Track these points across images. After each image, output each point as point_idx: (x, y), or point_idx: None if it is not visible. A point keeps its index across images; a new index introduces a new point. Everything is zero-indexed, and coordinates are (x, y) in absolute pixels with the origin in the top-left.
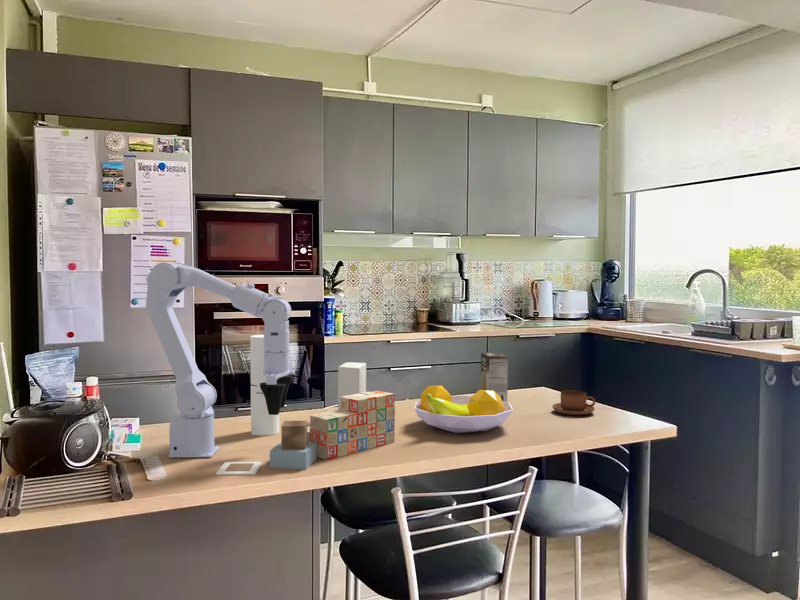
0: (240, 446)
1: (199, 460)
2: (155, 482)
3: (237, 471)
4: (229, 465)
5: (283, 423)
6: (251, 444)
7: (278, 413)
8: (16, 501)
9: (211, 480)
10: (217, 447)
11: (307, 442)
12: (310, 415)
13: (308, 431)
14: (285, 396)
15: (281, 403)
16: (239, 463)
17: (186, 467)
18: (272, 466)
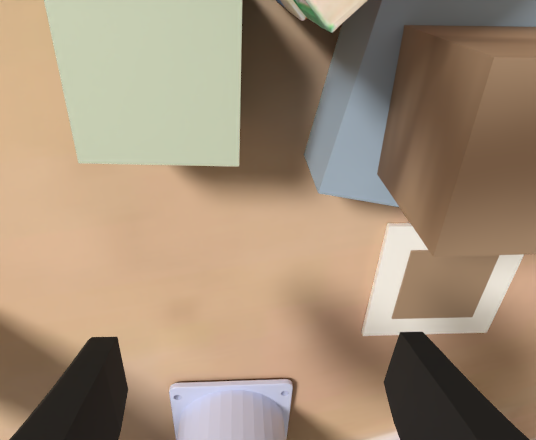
0: (135, 331)
1: (312, 394)
2: None
3: (489, 282)
4: (415, 317)
5: (519, 250)
6: (97, 303)
7: (427, 338)
8: None
9: (532, 327)
10: (192, 389)
11: (390, 23)
12: (333, 29)
13: (224, 34)
14: (71, 431)
15: (111, 383)
16: (398, 294)
17: (378, 403)
18: None
